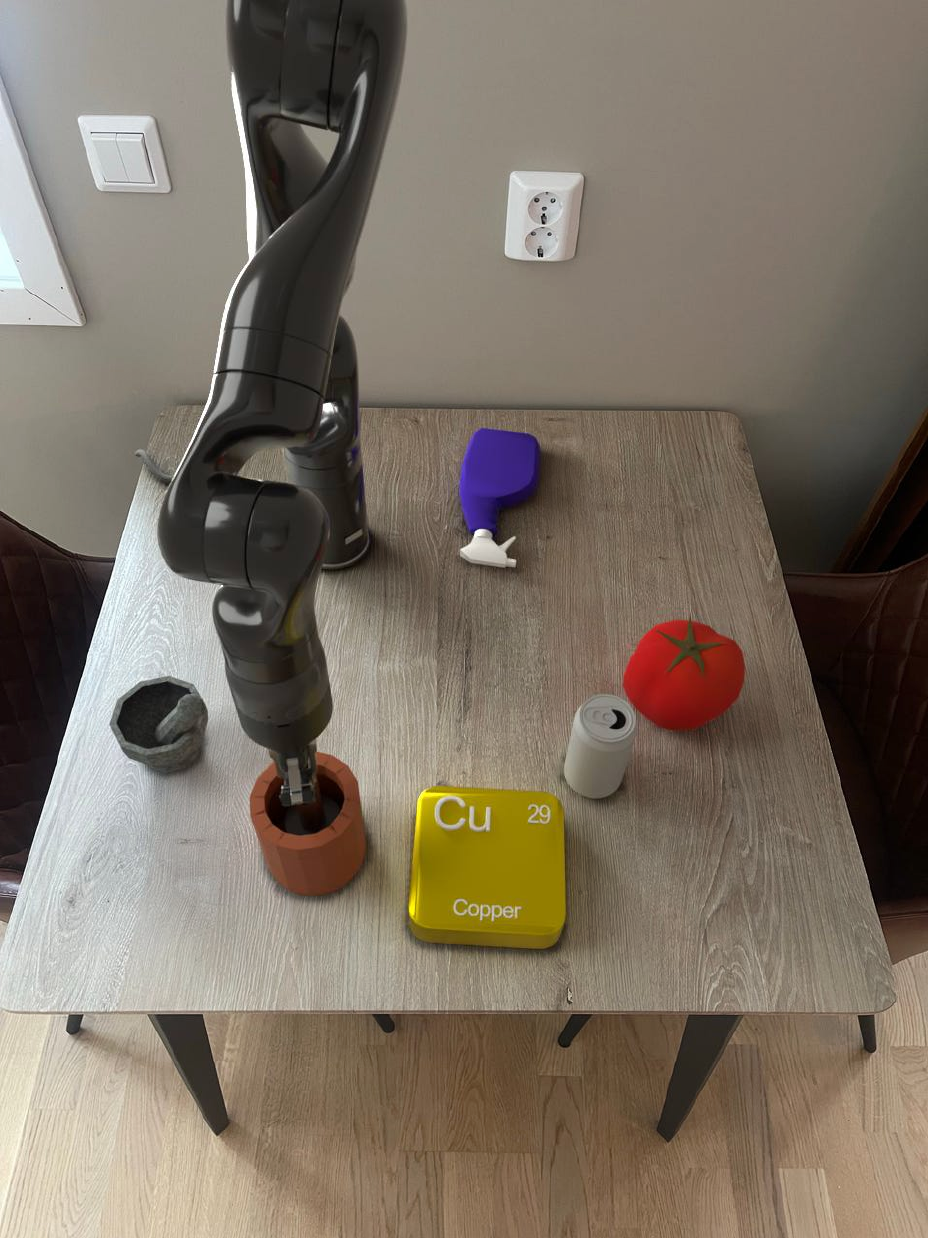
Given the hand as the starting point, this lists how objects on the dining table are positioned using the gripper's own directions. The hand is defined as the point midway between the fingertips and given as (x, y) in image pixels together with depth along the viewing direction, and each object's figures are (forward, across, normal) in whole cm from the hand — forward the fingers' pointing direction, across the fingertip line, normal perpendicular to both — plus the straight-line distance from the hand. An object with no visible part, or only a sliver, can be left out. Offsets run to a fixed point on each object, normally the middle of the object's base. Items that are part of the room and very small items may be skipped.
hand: (304, 785), depth 85 cm
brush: (+11, 0, 0) cm, 11 cm away
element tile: (+14, +6, +17) cm, 22 cm away
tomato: (+14, -11, +42) cm, 46 cm away
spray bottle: (+14, -46, +28) cm, 56 cm away
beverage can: (+14, -3, +30) cm, 33 cm away
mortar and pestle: (+14, -14, -14) cm, 24 cm away
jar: (+13, 0, 0) cm, 13 cm away
